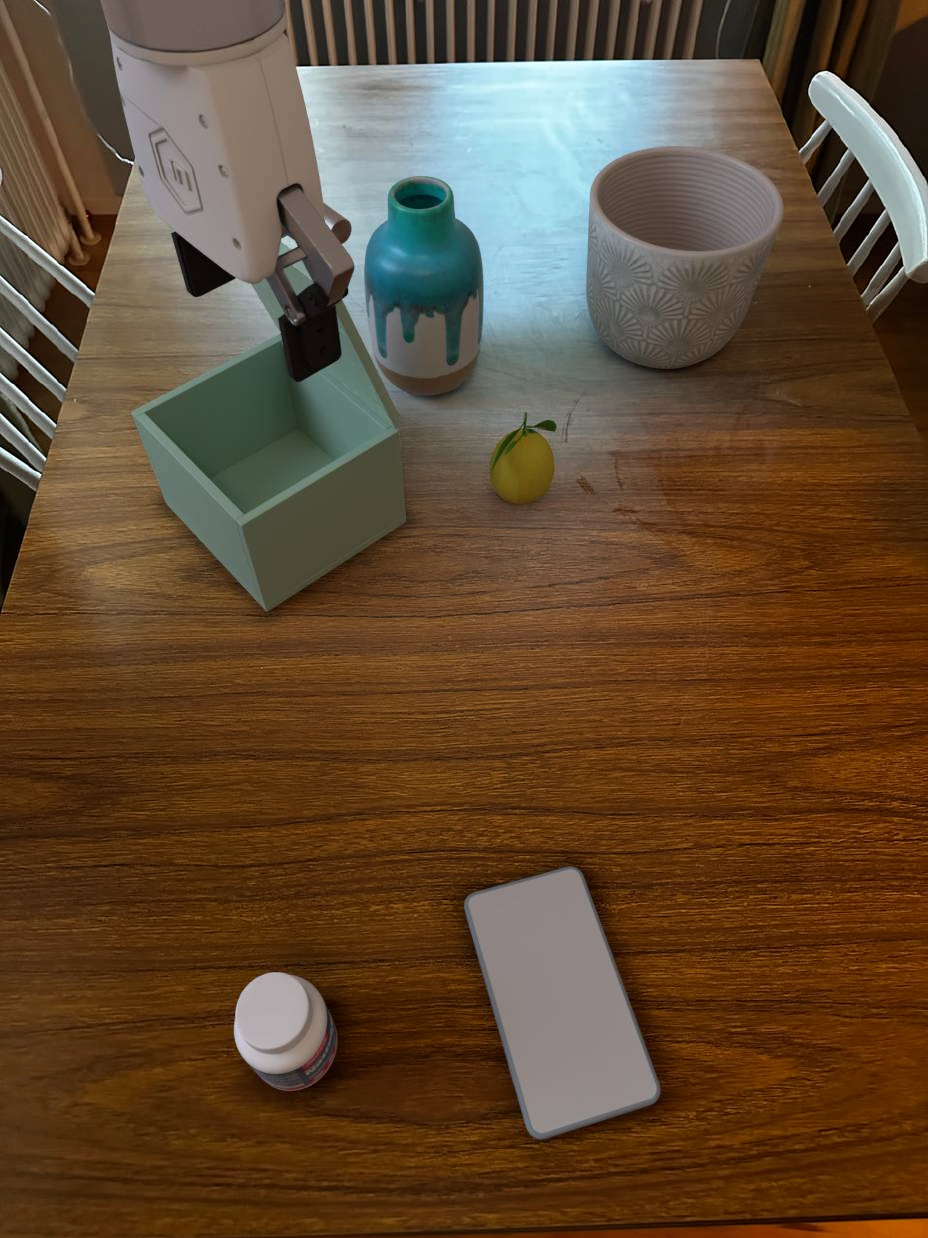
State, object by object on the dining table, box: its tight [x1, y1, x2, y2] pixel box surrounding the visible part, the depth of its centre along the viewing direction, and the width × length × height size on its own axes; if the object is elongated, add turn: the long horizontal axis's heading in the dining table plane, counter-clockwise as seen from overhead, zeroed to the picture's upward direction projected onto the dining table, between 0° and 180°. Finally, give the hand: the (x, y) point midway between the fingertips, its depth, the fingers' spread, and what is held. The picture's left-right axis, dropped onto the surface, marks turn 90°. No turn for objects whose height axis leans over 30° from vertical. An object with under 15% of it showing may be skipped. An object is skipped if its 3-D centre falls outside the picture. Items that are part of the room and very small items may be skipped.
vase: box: [363, 175, 485, 396], centre depth 85 cm, size 11×11×19 cm
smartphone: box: [463, 865, 661, 1141], centre depth 60 cm, size 8×1×15 cm
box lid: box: [250, 201, 403, 429], centre depth 70 cm, size 15×16×6 cm
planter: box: [585, 145, 785, 370], centre depth 90 cm, size 17×17×15 cm
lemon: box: [489, 411, 558, 505], centre depth 80 cm, size 7×6×10 cm
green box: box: [130, 333, 407, 613], centre depth 79 cm, size 15×16×11 cm
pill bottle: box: [233, 971, 338, 1092], centre depth 55 cm, size 5×5×9 cm
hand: (263, 325), depth 54 cm, fingers open, 9 cm apart
